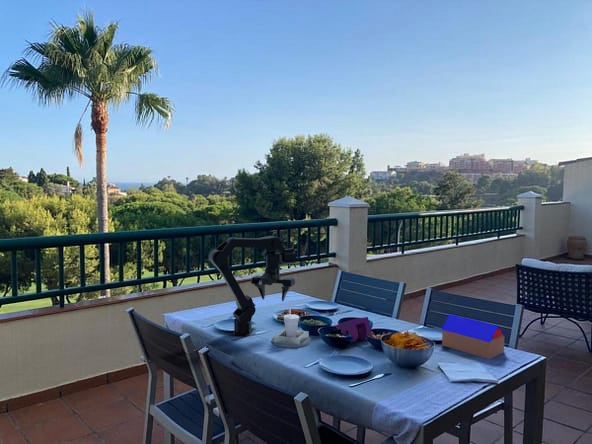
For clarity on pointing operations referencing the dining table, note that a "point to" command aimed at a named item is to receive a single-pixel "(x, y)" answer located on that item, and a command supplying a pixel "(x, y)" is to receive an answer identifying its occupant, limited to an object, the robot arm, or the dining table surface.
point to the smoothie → (291, 324)
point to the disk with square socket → (292, 339)
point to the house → (473, 337)
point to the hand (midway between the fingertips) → (273, 300)
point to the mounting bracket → (355, 328)
